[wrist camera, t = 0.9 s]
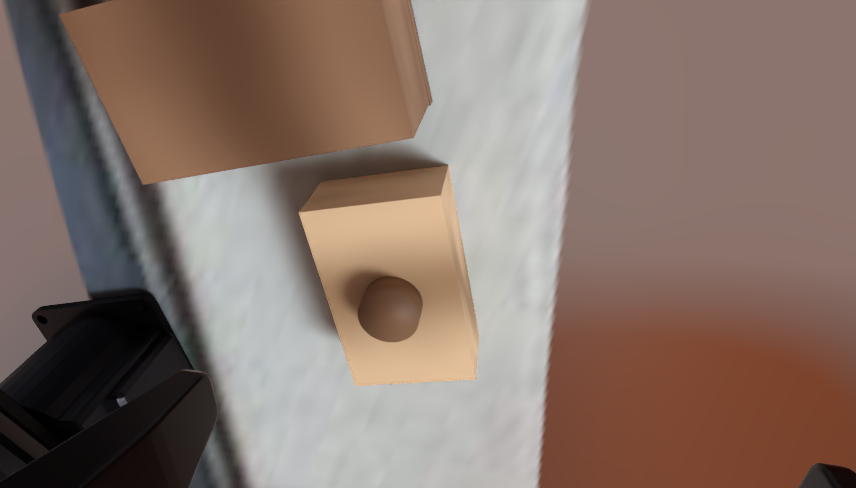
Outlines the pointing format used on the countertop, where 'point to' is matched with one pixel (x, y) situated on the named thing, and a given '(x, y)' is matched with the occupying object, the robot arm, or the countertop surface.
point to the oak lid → (395, 275)
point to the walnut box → (251, 78)
